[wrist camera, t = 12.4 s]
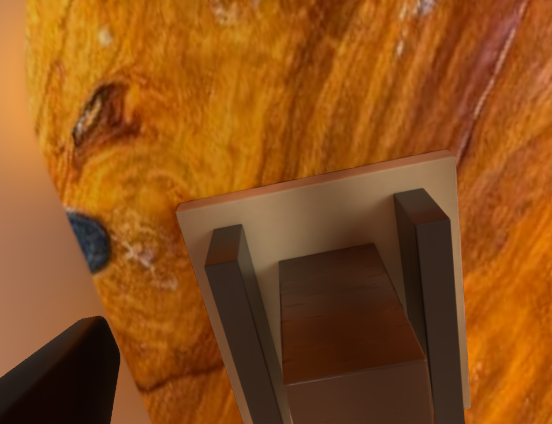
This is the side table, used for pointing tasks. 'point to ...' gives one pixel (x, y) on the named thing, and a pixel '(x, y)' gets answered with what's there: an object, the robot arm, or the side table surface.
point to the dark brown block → (349, 343)
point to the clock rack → (327, 237)
